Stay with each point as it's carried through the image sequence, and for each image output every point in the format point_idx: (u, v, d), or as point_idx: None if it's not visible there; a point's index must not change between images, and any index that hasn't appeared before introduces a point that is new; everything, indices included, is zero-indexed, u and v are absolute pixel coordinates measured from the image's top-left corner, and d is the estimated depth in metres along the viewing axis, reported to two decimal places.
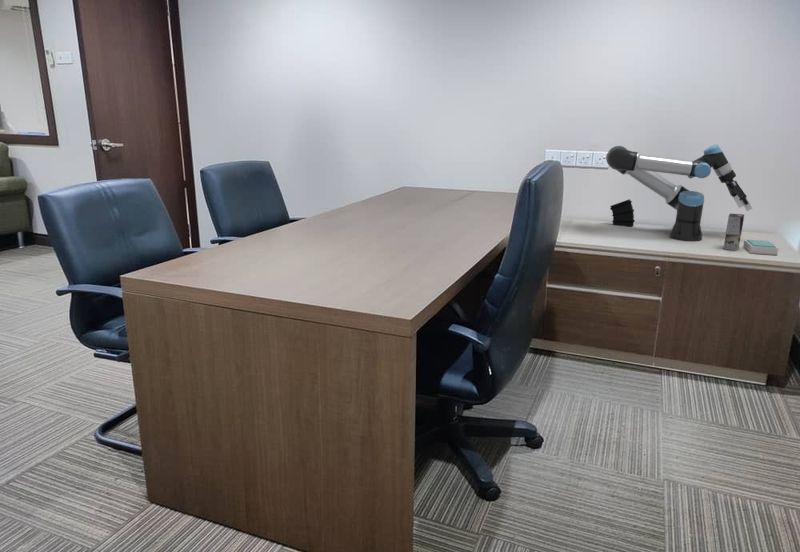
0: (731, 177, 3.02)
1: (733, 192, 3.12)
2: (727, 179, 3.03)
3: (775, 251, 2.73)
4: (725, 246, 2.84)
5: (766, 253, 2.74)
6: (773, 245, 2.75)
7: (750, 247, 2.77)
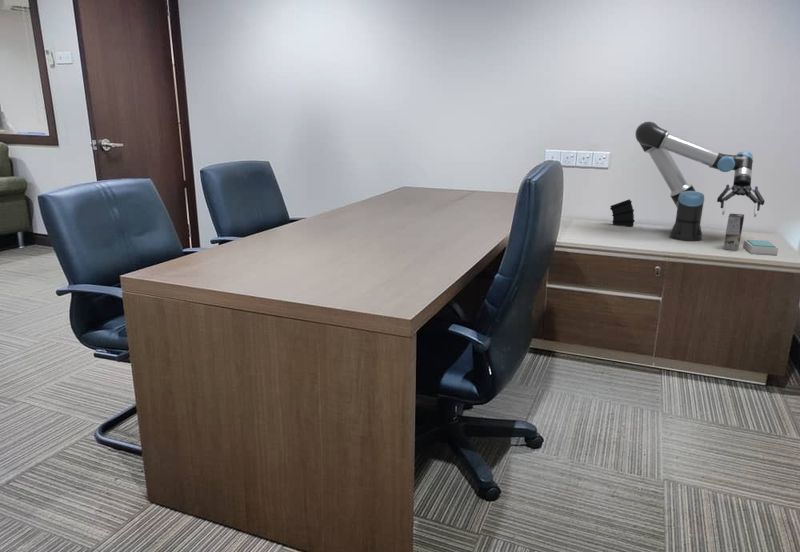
0: None
1: (728, 197, 2.94)
2: (750, 182, 2.93)
3: (775, 251, 2.73)
4: (725, 246, 2.84)
5: (766, 253, 2.74)
6: (773, 245, 2.75)
7: (750, 247, 2.77)
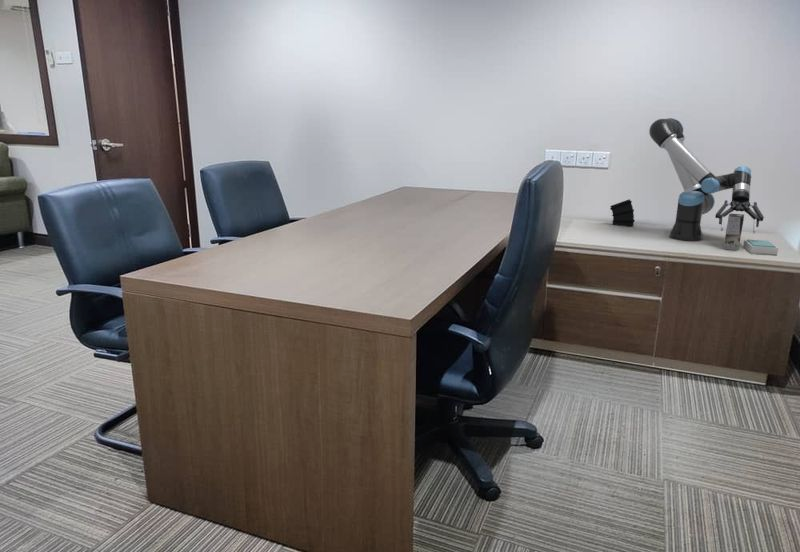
0: None
1: (726, 213, 2.89)
2: None
3: (775, 251, 2.73)
4: (725, 246, 2.84)
5: (766, 253, 2.74)
6: (773, 245, 2.75)
7: (750, 247, 2.77)
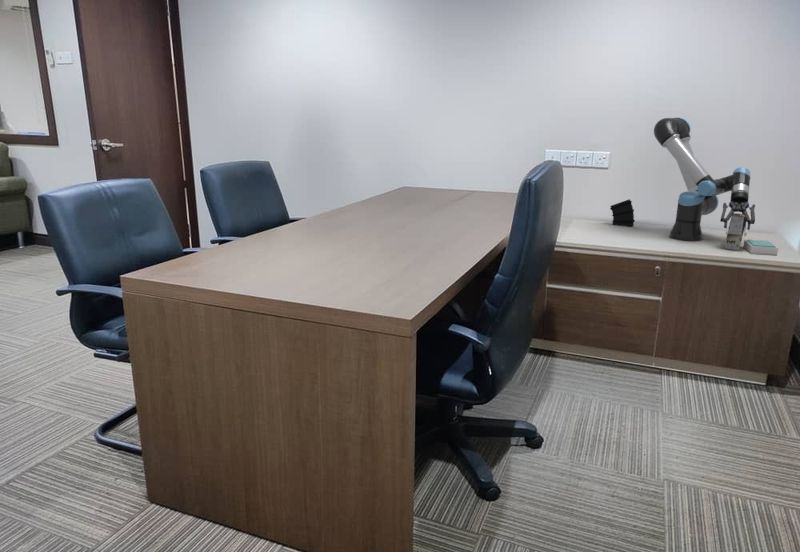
0: None
1: (730, 216, 2.86)
2: None
3: (775, 251, 2.73)
4: (726, 246, 2.83)
5: (766, 253, 2.74)
6: (773, 245, 2.75)
7: (750, 247, 2.77)
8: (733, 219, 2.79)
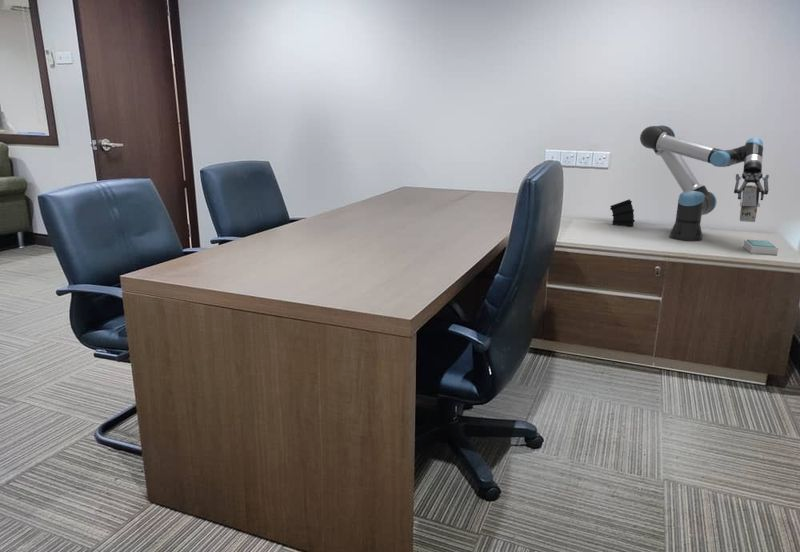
0: None
1: None
2: (761, 169, 2.81)
3: (775, 251, 2.73)
4: (741, 219, 2.77)
5: (766, 253, 2.74)
6: (773, 245, 2.75)
7: (750, 247, 2.77)
8: (746, 190, 2.74)
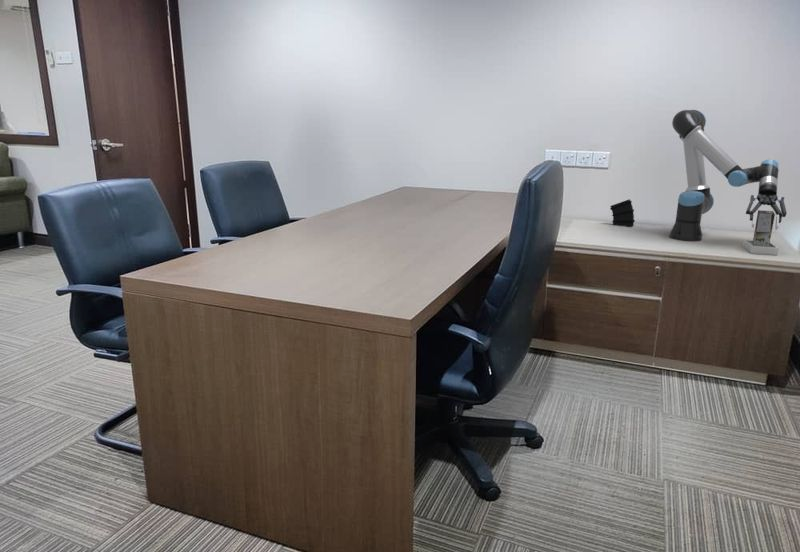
0: None
1: (756, 208, 2.80)
2: (776, 191, 2.80)
3: (775, 251, 2.73)
4: (755, 244, 2.77)
5: (766, 253, 2.74)
6: None
7: (750, 247, 2.77)
8: (760, 216, 2.73)
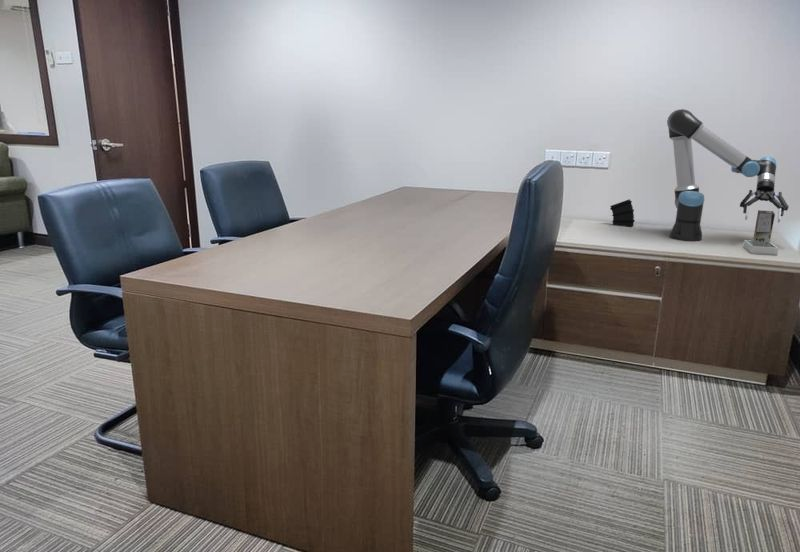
0: None
1: (751, 203, 2.91)
2: None
3: (775, 251, 2.73)
4: (755, 244, 2.77)
5: (766, 253, 2.74)
6: None
7: (750, 247, 2.77)
8: (760, 216, 2.73)
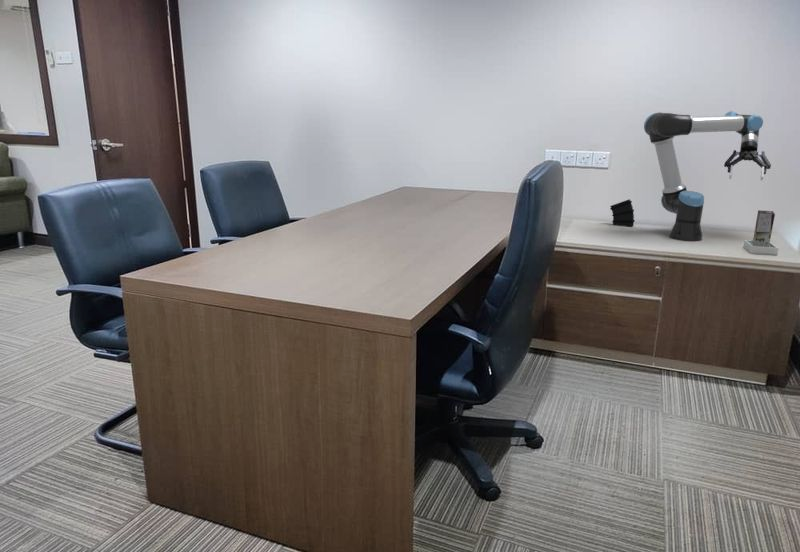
0: None
1: (735, 162, 3.00)
2: None
3: (775, 251, 2.73)
4: (755, 244, 2.77)
5: (766, 253, 2.74)
6: None
7: (750, 247, 2.77)
8: (760, 216, 2.73)
